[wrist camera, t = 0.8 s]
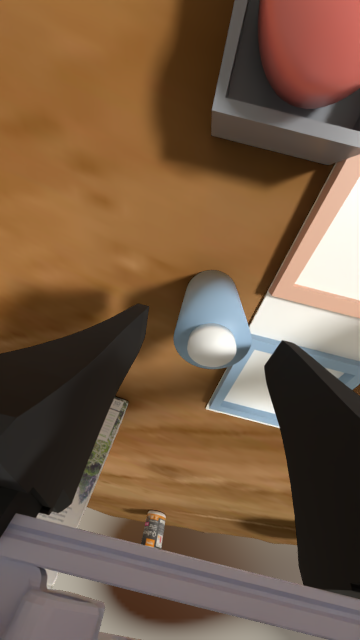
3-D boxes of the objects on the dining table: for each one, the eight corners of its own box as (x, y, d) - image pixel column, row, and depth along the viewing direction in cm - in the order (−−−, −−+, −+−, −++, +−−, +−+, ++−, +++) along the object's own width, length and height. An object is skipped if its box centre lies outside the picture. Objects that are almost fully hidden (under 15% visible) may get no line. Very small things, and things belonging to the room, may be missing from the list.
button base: (456, -83, 6) (634, -292, 3) (328, 165, 9) (370, 150, 7) (269, -130, 6) (312, -374, 3) (211, 135, 9) (211, 110, 7)
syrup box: (86, 407, 27) (-17, 573, 15) (89, 385, 24) (-39, 575, 11) (122, 419, 27) (52, 590, 15) (130, 399, 24) (49, 596, 12)
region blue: (369, 363, 16) (376, 370, 15) (297, 424, 22) (299, 431, 21) (246, 332, 16) (248, 338, 15) (209, 402, 22) (209, 408, 21)
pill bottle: (157, 509, 53) (148, 565, 45) (169, 515, 55) (162, 570, 47) (144, 509, 56) (133, 562, 48) (156, 515, 58) (147, 567, 50)
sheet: (732, 62, 7) (742, 59, 6) (293, 430, 23) (294, 431, 22) (429, -14, 7) (433, -19, 6) (205, 407, 23) (205, 408, 22)
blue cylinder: (244, 277, 13) (269, 328, 8) (226, 320, 15) (235, 384, 10) (192, 264, 13) (180, 305, 8) (181, 309, 15) (165, 366, 10)
